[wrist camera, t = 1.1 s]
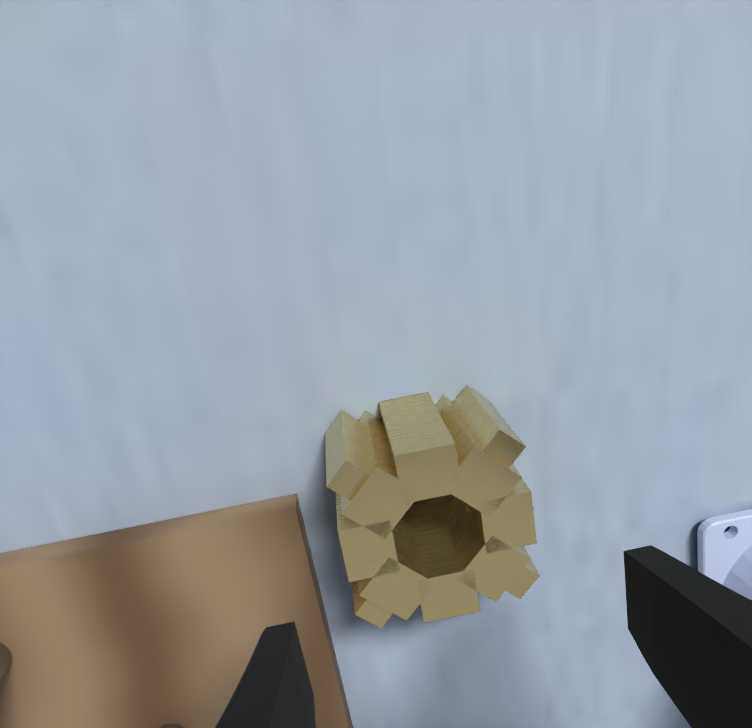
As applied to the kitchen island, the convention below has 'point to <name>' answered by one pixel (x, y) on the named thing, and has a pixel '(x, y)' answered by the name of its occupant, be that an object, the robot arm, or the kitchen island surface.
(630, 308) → the kitchen island surface
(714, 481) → the kitchen island surface
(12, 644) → the gear board
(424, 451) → the brass gear
